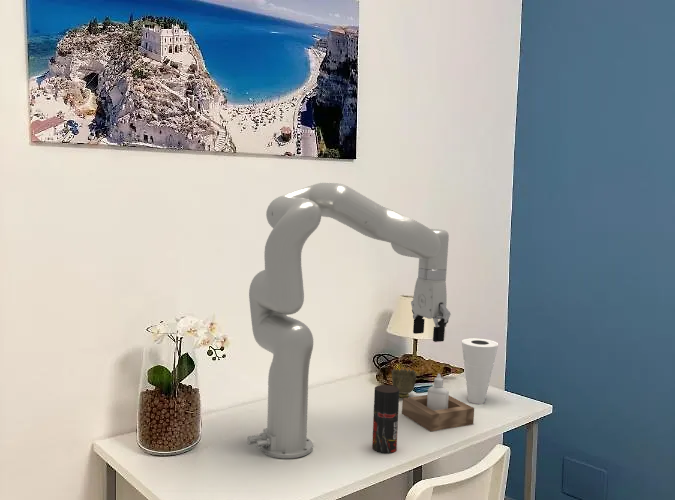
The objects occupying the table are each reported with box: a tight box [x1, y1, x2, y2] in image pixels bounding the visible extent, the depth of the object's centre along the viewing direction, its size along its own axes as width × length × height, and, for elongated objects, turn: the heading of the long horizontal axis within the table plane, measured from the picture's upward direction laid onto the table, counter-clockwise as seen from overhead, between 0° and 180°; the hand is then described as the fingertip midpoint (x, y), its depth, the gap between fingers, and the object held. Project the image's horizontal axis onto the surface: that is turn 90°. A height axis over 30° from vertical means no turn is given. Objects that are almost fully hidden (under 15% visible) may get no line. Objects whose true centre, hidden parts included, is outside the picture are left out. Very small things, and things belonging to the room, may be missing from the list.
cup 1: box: [391, 368, 417, 400], centre depth 201 cm, size 8×7×8 cm
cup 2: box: [461, 337, 499, 405], centre depth 199 cm, size 11×11×18 cm
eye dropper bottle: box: [426, 373, 450, 410], centre depth 183 cm, size 4×6×12 cm
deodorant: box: [371, 384, 400, 455], centre depth 162 cm, size 6×6×15 cm
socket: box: [401, 394, 475, 432], centre depth 184 cm, size 14×14×4 cm
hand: (428, 337), depth 182 cm, fingers open, 9 cm apart
